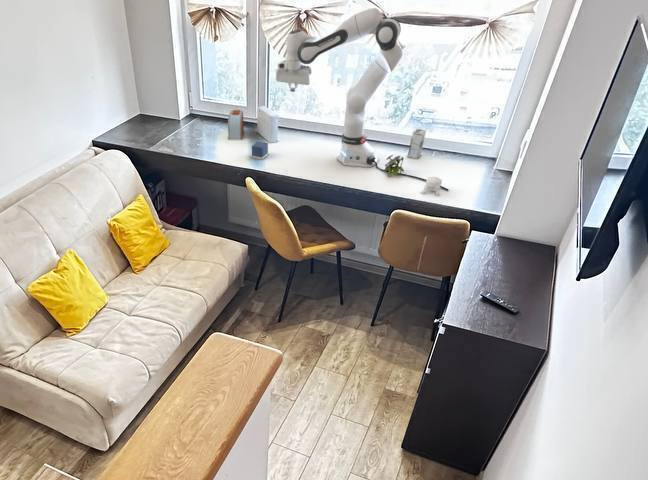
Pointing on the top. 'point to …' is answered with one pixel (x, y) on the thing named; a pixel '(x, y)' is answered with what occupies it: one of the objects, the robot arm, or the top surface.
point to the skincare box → (267, 124)
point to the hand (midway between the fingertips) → (293, 91)
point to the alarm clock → (235, 124)
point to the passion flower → (394, 168)
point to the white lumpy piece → (433, 184)
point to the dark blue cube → (259, 150)
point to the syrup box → (416, 143)
